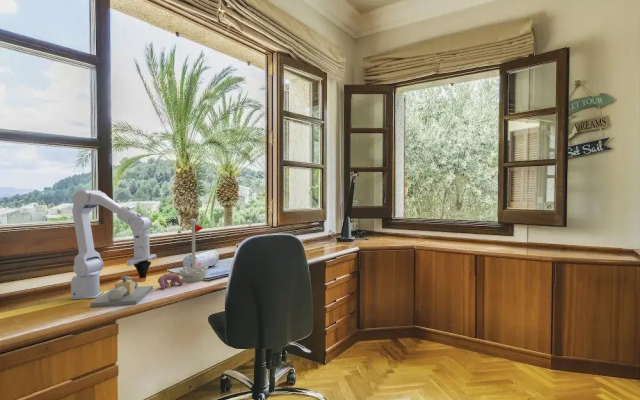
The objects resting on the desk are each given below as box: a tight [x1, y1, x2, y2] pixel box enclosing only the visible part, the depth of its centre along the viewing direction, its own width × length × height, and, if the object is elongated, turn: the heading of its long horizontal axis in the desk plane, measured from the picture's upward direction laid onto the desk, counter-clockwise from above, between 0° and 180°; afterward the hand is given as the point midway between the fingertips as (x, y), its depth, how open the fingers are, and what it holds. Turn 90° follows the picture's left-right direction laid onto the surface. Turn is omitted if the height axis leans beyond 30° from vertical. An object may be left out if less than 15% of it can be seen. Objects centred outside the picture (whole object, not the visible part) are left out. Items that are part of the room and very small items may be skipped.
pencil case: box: [182, 249, 220, 269], centre depth 200 cm, size 21×9×10 cm, turn 153°
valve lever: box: [120, 275, 147, 283], centre depth 144 cm, size 12×3×2 cm, turn 67°
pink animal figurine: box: [157, 272, 184, 290], centre depth 162 cm, size 10×5×7 cm, turn 141°
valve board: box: [89, 279, 154, 308], centre depth 145 cm, size 16×22×7 cm
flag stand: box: [179, 218, 209, 283], centre depth 176 cm, size 13×13×30 cm
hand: (142, 279), depth 145 cm, fingers closed, pressing on valve lever
